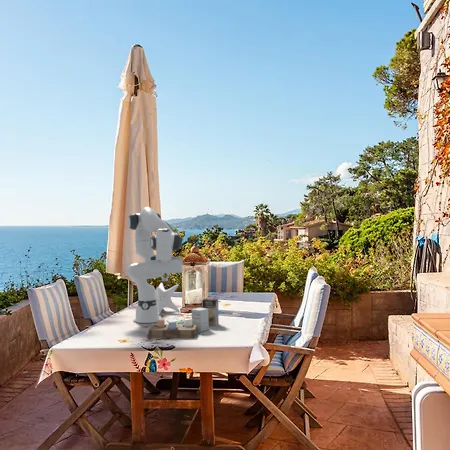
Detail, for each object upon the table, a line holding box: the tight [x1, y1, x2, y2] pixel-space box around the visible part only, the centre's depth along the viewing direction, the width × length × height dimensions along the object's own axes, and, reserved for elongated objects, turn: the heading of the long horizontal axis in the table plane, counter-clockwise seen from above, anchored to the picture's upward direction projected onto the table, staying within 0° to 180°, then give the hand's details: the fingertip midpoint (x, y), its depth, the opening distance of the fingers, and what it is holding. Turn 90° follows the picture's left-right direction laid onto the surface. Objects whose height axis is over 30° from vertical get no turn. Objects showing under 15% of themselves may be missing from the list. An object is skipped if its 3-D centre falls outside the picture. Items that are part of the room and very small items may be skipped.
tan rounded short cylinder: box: [156, 319, 166, 327], centre depth 289 cm, size 5×5×6 cm
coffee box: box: [201, 298, 220, 327], centre depth 312 cm, size 9×6×16 cm
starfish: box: [155, 282, 180, 315], centre depth 364 cm, size 20×20×20 cm
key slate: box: [167, 320, 178, 330], centre depth 281 cm, size 5×5×6 cm
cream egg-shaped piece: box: [183, 318, 192, 327], centre depth 288 cm, size 5×5×6 cm
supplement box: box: [191, 307, 210, 333], centre depth 297 cm, size 7×7×13 cm
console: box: [147, 324, 199, 339], centre depth 285 cm, size 15×26×4 cm, turn 87°
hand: (165, 281), depth 283 cm, fingers closed
